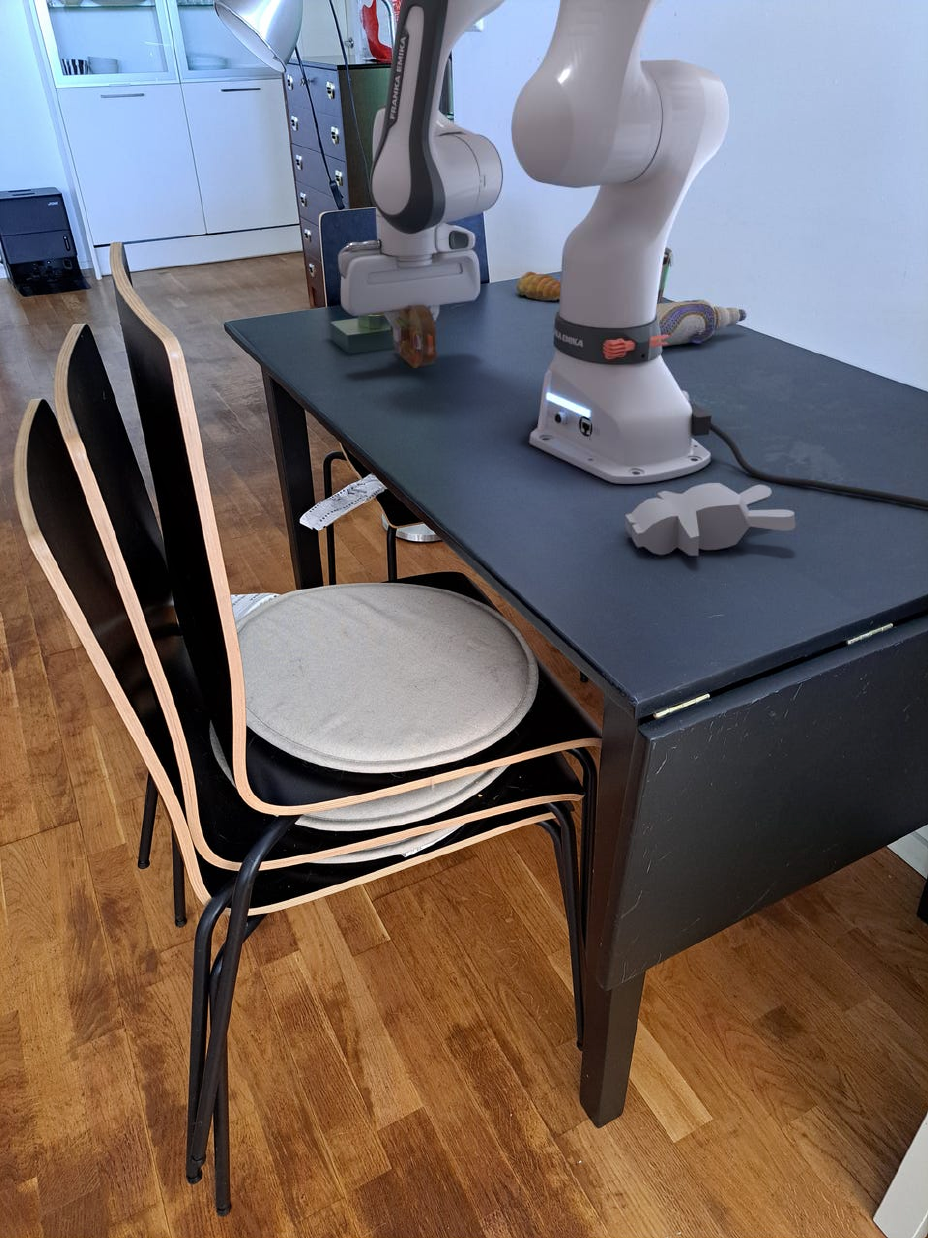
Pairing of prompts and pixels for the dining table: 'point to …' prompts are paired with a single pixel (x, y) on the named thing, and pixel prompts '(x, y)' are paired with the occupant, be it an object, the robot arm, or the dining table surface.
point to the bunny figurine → (702, 518)
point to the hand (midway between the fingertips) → (413, 338)
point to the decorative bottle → (694, 320)
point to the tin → (417, 336)
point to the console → (362, 333)
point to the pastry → (539, 286)
